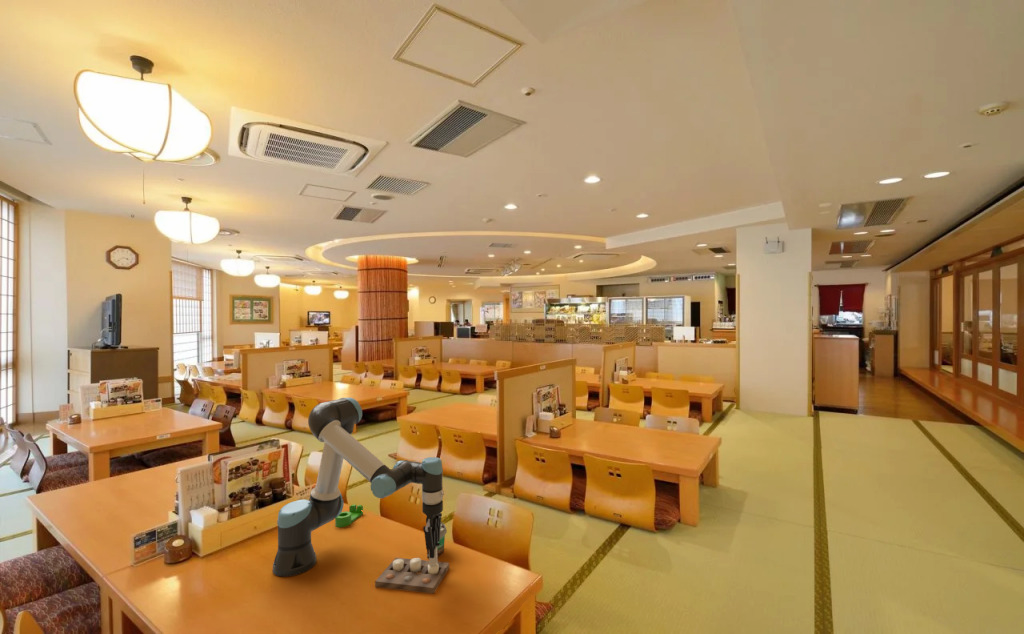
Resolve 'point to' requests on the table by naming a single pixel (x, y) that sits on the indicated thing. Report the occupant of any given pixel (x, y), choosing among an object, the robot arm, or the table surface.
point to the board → (412, 577)
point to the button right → (433, 570)
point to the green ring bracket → (348, 516)
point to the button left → (398, 565)
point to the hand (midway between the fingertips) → (433, 564)
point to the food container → (442, 538)
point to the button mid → (415, 565)
